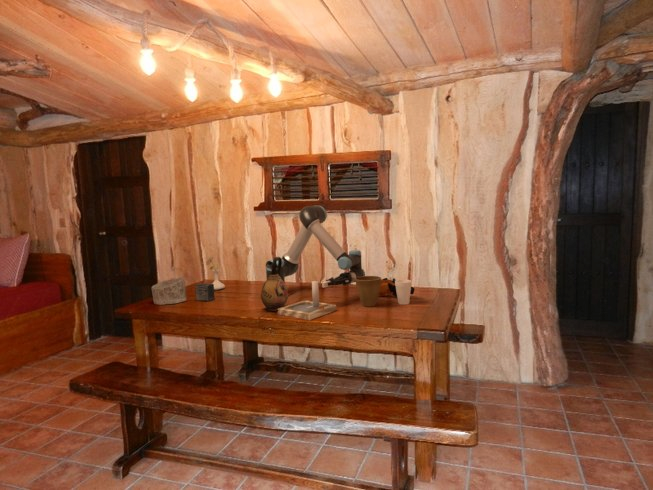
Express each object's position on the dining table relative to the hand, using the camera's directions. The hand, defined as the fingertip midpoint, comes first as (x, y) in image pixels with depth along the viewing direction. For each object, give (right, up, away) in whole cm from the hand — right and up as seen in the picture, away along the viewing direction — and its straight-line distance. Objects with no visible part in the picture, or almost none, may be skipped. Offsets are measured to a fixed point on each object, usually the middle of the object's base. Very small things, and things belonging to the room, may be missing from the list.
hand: (323, 285), depth 252 cm
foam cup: (+47, -11, +7) cm, 49 cm away
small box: (-76, -13, +34) cm, 84 cm away
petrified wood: (-97, -14, +32) cm, 103 cm away
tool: (+44, -10, +21) cm, 50 cm away
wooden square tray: (-9, -14, -6) cm, 18 cm away
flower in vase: (-77, -9, +66) cm, 102 cm away
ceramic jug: (-27, -14, +5) cm, 31 cm away
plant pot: (+26, -12, +5) cm, 29 cm away
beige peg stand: (-9, -14, -6) cm, 18 cm away
